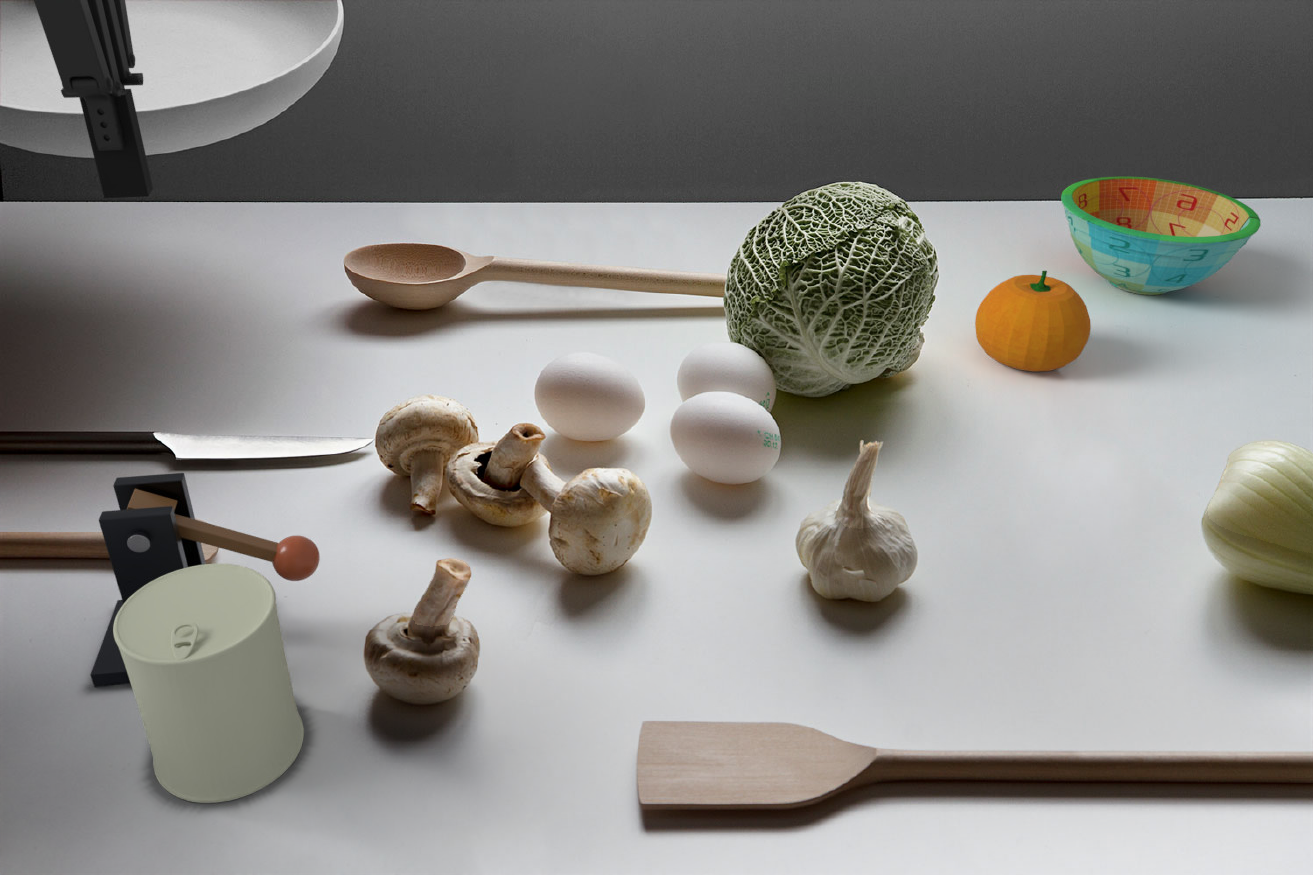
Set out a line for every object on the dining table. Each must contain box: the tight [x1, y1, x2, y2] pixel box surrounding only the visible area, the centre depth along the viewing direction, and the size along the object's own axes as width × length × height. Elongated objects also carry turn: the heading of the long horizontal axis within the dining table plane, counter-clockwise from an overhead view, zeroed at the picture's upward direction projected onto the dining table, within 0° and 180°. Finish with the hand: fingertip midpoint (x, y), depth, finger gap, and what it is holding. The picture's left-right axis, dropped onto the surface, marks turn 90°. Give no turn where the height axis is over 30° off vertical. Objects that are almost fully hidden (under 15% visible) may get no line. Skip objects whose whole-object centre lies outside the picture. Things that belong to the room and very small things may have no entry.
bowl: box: [1060, 176, 1261, 296], centre depth 137 cm, size 22×22×10 cm
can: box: [113, 563, 305, 804], centre depth 70 cm, size 9×9×12 cm
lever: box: [127, 489, 321, 582], centre depth 78 cm, size 13×3×3 cm, turn 100°
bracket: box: [90, 472, 207, 688], centre depth 78 cm, size 10×8×13 cm
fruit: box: [974, 270, 1092, 372], centre depth 120 cm, size 12×12×10 cm
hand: (128, 193), depth 74 cm, fingers closed
